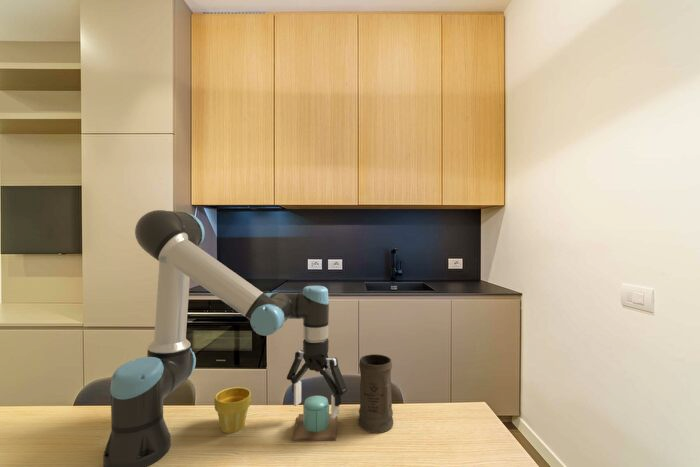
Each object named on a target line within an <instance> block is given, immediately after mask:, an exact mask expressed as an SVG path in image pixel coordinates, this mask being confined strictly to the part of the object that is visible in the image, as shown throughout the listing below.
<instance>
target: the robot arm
mask: <svg viewBox="0 0 700 467" xmlns="http://www.w3.org/2000/svg"><path fill="white" fill-rule="evenodd" d="M205 233H206V232H205V227H204V225H203V223H202V221H201V220H200V219H199V218H198V217H197V216H195V214H191V213H188V212H183V211H175V210H174V211H172V210H163V209H155V210H152V211H149V212H147V213H145V214H143V215H142V216H141V217H140V218H139V219H138V221H137V222H136V224H135V228H134V236H135V239H136V241H137V243H138V245H139V246H140V247H141V249H143V250H144V251H145V252H146V253H147V254H148V255H149V256H151V257H152V258H153V259H155V260H156V261H158V273H157V274H158V275H157V289H156V290H157V291H156V294H157V295H156V305H155V321H154V322H155V323H154V334H153V335H154V336H153V341H152V342H151V343H150V344H148V346H147V354H146V356H144V357H138V358H136V359H135V360H130V361H128V362H125V363H123V364H122V365H120V366H119V367H117V369H116V370H115V371H114V372H113V374H112V376H111V382H110V383H111V384H110V387H109V392H110V409H111V410H110V416H111V417H110V418H111V422H110V423H111V425H110V426H111V427H110V428H111V431H110V434H109V437H108V440H107V442H106V446H105V448H104V451H103V455H102V456H103V457H102V458H103V459H102V460H103V463H102V464H103V467H148V466H151V465H153V464H154V463H156V462H158V461H159V460H160V459H162V458H163V457H164V456H165V455H166V454H167V453H168V452H169V451H170V449H171V444H172V442H171V441H172V440H171V439H172V438H171V432H170V431H169V428H168V426H167V424H166V421H165V419H164V399H165V398H166V397H168V396H169V395H170V394H171V393H172V392H174V391H175V390H176V389H178V388H179V387H180V386H181V385H183V384H184V383H185V382H186V381H187V380H188V379H189V378H190V376H191V375H192V374H193V372H194V370H195V368H196V364H197V363H196V362H197V358H196V355H195V352H194V351H193V350H192V348H191V342H190V341H189V340H188V339H187V324H188V309H189V297H190V296H189V294H190V283H191V282H190V281H191V280H192V281H194V282H195V283H197V285H200V286H201V287H202V288H204V289H205V290H206V291H208V292H210V293H211V294H212V295H213V296H215V297H217V299H218V300H220V301H221V302H223V303H225V304H226V305H228V306H229V307H231V308H232V309H233V310H234V311H236V312H237V313H239V314H240V315H242V316H243V317H245V318H246V319H247V320H249V322H250V326H251V328H252V330H253V331H254V332H255V333H256V334H257V335H259V336H262V337H263V336H267V337H268V336H270V335H273V334H275V333H277V332H278V331H279V330H280V329H281V328H282V326H284V324H285V323H286V322H287V321H288V320H292V319H293V320H302V321H303V322H302V325H303V326H302V338H303V341H302V349H299V350H298V351H296V352H295V353H294V359H293V362H292V364H291V367H290V368H289V371H288V373H287V376H286V380H288V381H290V382H291V385H292V386H291V388H292V389H291V390H292V391H291V392H292V393H293V407H294V406H295V407H297V406H298V405H300V404H301V403H302V381H301V378H302V377H303V375H304V374H306V373H307V371H308V370H309V371H314V372H316V373H319V374H320V375H321V376H323V379H324V380H325V382H326V383H327V385H328V386H329V388H330V390H331V392H332V394H331V395H330V396H331V397H330V398H331V401H330V402H331V405H330V406H331V408H330V411H331V413H330V414H331V418H333V419H334V418H335V417H336V416H337V417H338V415H340V414H339V410H340V409H339V407H340V405H341V404H342V396H343V395H344V394H346V392H347V391H348V388H347V386H346V385H347V384H346V383H345V381H344V378H343V375H342V373H341V370H340V367H339V363H338V357H333V358H329V356H328V353H329V348H330V346H329V321H330V320H329V316H330V315H329V310H330V308H329V306H330V301H329V290H328V288H327V287H326V286H323V285H307V286H305V287H303V289H302V290H303V291H302V292H299V293H298V292H296V293H295V292H293V293H292V292H277V291H276V292H267V293H264V292H263V291H261V290H260V289H259V288H257V287H255V286H254V285H253V284H252V283H250V282H249V281H247V280H246V279H245V278H243V277H242V276H240V275H239V274H237V272H234V271H233V270H232V269H230V268H228V267H227V265H225V264H223V263H222V262H220V261H219V260H217V259H216V258H215V257H214V256H212V255H210V254H209V253H208V252H206V251H205V250H203V249H202V248H200V247H199V246H200V245H201V244H202V243H203V242H204V240H205V239H204V238H205ZM190 279H191V280H190ZM302 360H304V364H302V366H301V368H299V367H300V365H301V362H302Z"/></svg>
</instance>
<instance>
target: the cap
mask: <svg viewBox="0 0 700 467" xmlns="http://www.w3.org/2000/svg"><path fill="white" fill-rule="evenodd" d="M302 410H303V413H302V414H303V426H304V427H305V429H306V430H307V431H312V432H319V431H322V430H325V429H326V428H327V427H328V425H329V414H330V403H329V400H328V398H327V397H325V396H323V395H311V396H309V397H306V399H305V400H304V404H303V408H302Z"/></svg>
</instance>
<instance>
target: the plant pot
mask: <svg viewBox="0 0 700 467" xmlns="http://www.w3.org/2000/svg"><path fill="white" fill-rule="evenodd" d="M251 400H252V392H251V390H250V389H249V388H246V387H244V386H235V387H228V388H225V389H222V390H221V391H218V392H217V393H216V394H215V396H214V410H215V412H217V417H218V421H219V422H218V423H219V425H220V430H221V432H224V433H225V434H233V433H234V434H235V433H237V432H239V431H241V430H242V429H243V428H244V427H245V422H246V418H247V413H248V409H249V407H250V406H251V403H252V401H251Z"/></svg>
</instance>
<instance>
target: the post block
mask: <svg viewBox="0 0 700 467" xmlns="http://www.w3.org/2000/svg"><path fill="white" fill-rule="evenodd" d="M337 422H338V415H337V416H336V417H335V418H334V419H333V418H331V413H329V425H328V427H327V428H326V429H325V430H322V431H319V432H312V431H307V430H306V429H305V427H304V426H303V413H298V416H297V419H296V424H295V428H294V431H293V435H292V441H293V442H300V441H301V442H304V441H305V442H307V441H308V442H311V441H313V442H317V441H319V442H321V441H324V442H326V441H330V442H333V441H334V442H335V441H336V438H337V425H338V423H337Z"/></svg>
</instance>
